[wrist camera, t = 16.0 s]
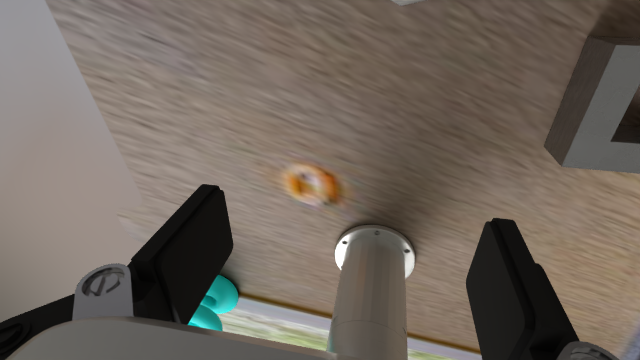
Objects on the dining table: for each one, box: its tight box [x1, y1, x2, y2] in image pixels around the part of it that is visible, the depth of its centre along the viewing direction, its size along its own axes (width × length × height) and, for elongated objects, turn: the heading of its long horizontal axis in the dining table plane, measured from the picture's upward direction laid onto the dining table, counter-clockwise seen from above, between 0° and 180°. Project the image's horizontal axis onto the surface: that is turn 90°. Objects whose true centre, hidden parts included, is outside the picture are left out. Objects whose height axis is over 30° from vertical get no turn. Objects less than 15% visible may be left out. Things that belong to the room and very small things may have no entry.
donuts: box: [188, 275, 238, 331], centre depth 61 cm, size 10×10×10 cm
